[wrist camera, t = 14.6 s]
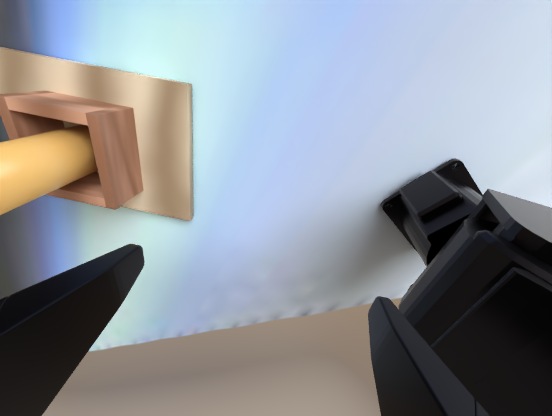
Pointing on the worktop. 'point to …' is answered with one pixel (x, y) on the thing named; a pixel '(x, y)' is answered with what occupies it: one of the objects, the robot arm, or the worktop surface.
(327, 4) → the worktop surface
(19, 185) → the orange tapered piece
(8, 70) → the beige board with box
